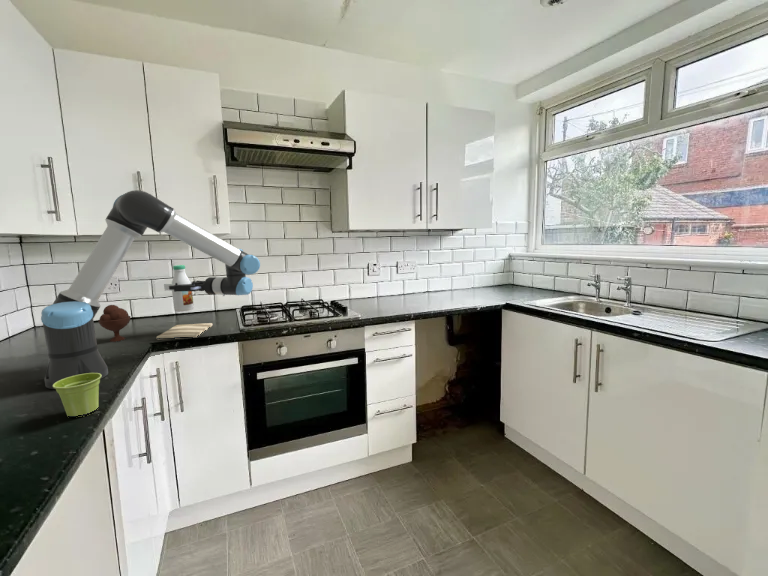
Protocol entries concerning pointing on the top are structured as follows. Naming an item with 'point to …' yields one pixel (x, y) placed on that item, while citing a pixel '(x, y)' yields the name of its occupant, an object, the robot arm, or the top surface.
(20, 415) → the top surface
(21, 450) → the top surface
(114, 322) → the ice cream bowl
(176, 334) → the birch board
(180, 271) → the milk bottle
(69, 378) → the plant pot
